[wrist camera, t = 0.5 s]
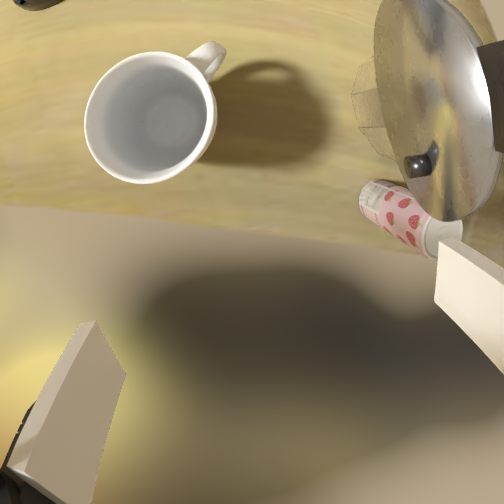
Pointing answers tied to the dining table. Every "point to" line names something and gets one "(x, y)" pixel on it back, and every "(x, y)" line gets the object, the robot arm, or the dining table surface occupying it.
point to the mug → (154, 114)
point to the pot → (370, 109)
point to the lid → (440, 104)
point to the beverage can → (405, 217)
